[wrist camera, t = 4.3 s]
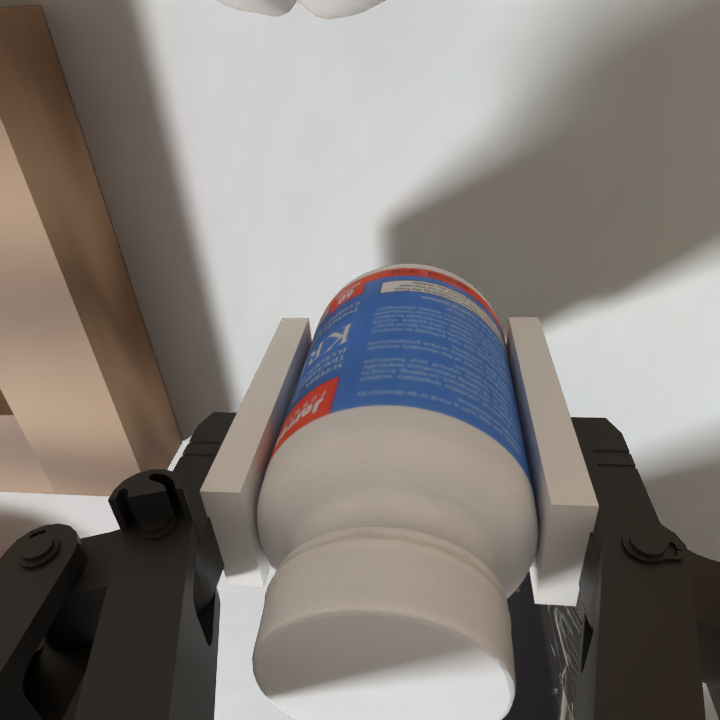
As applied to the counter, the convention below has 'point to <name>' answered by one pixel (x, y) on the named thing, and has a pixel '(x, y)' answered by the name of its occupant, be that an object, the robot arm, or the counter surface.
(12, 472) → the walnut holder block
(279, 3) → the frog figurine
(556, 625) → the small box
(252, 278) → the counter surface
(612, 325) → the counter surface
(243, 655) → the counter surface
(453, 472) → the pill bottle
